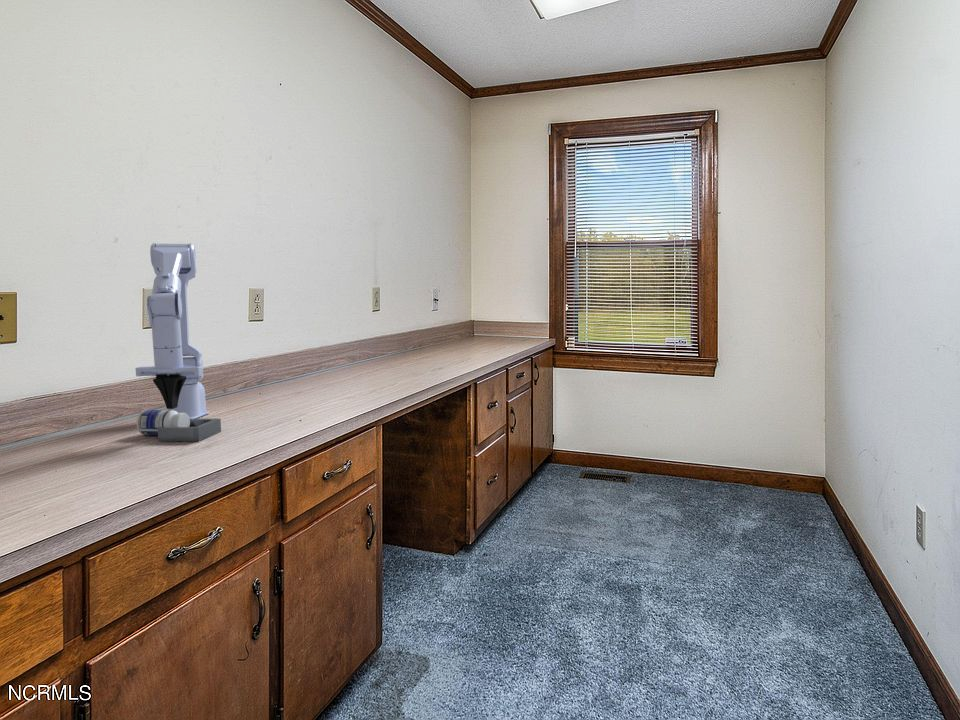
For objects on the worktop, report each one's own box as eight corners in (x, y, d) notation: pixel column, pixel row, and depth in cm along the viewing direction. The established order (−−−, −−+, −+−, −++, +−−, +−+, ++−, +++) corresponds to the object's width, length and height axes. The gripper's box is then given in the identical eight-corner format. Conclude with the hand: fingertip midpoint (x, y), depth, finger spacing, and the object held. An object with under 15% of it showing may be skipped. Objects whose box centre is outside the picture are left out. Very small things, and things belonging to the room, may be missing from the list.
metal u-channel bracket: (183, 431, 149) (182, 418, 149) (221, 431, 149) (220, 418, 148) (158, 441, 139) (157, 427, 139) (199, 441, 139) (198, 428, 138)
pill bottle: (155, 423, 150) (194, 424, 148) (141, 440, 145) (182, 441, 144) (146, 404, 147) (186, 405, 145) (131, 420, 142) (173, 422, 141)
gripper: (125, 349, 139) (130, 411, 140) (189, 349, 137) (193, 411, 139) (144, 346, 146) (149, 405, 147) (206, 345, 144) (210, 405, 146)
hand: (172, 408), depth 144 cm, fingers closed
